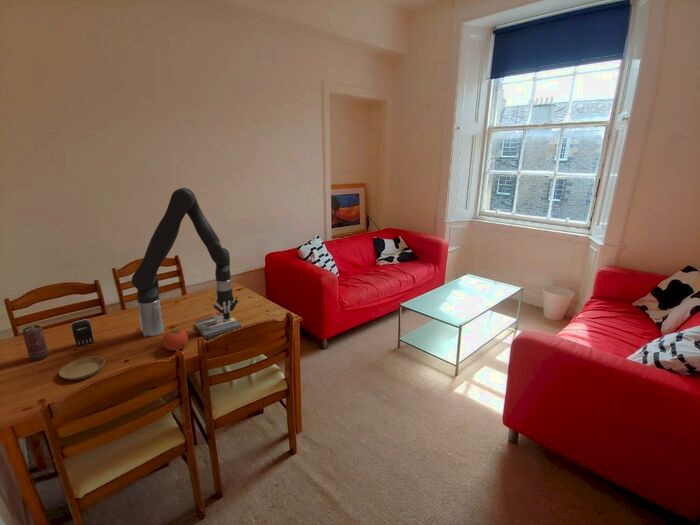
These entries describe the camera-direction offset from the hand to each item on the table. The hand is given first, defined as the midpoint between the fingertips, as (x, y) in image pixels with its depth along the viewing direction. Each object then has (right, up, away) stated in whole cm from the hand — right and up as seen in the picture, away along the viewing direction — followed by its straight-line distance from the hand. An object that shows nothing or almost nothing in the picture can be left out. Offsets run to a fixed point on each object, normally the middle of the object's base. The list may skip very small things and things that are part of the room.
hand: (226, 318), depth 181 cm
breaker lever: (-3, -2, -2) cm, 4 cm away
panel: (-4, -4, -2) cm, 6 cm away
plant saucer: (-44, -15, -39) cm, 61 cm away
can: (-69, -12, -31) cm, 77 cm away
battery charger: (-58, -8, -20) cm, 62 cm away
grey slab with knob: (-4, -4, -2) cm, 6 cm away
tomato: (-15, -10, -22) cm, 28 cm away
